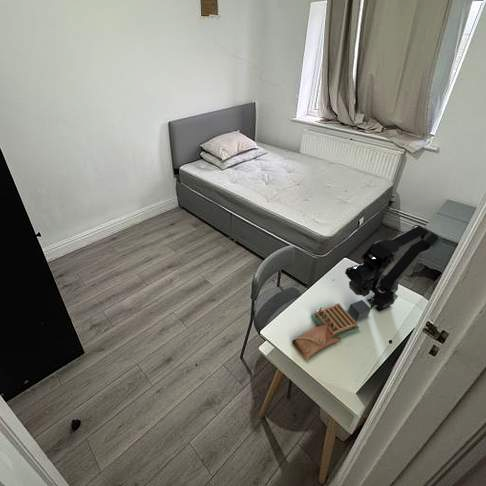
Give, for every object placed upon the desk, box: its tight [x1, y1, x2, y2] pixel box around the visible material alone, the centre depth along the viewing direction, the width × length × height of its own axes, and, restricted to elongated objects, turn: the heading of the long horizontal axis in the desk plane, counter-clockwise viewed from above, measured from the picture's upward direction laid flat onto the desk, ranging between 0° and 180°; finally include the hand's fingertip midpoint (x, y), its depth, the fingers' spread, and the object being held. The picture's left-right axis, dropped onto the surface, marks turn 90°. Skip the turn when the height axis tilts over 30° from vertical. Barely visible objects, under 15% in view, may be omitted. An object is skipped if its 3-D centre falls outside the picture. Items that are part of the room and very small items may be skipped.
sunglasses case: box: [291, 321, 342, 361], centre depth 110 cm, size 18×7×7 cm, turn 118°
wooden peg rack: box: [311, 302, 360, 339], centre depth 115 cm, size 13×12×8 cm
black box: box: [347, 299, 372, 322], centre depth 119 cm, size 6×5×6 cm
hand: (362, 299), depth 114 cm, fingers open, 9 cm apart
